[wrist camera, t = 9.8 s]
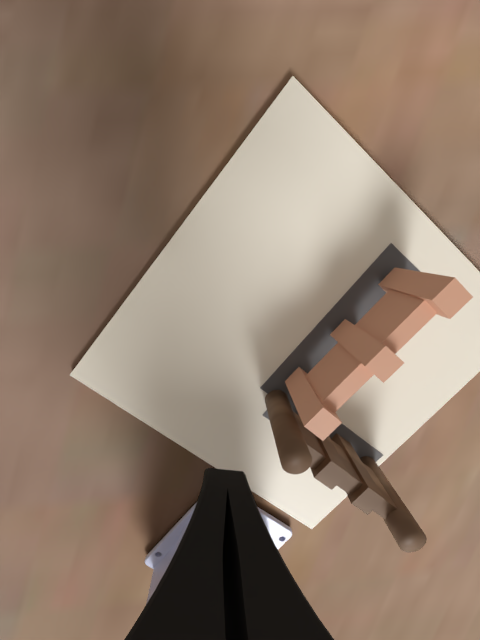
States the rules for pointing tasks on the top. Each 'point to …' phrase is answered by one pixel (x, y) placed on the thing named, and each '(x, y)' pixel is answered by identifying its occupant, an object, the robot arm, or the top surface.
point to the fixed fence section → (340, 470)
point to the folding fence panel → (372, 344)
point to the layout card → (283, 306)
